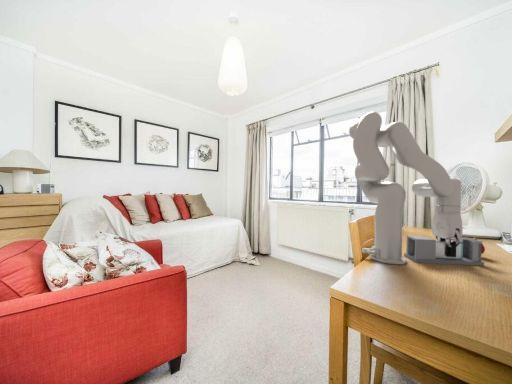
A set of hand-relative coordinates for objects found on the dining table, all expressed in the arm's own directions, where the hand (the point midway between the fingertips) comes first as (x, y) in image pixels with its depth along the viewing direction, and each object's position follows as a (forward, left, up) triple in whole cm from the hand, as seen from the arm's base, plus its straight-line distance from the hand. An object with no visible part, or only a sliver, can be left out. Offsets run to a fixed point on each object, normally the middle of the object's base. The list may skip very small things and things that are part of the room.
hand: (446, 254), depth 86 cm
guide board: (-2, 0, -2) cm, 3 cm away
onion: (+17, +8, -3) cm, 19 cm away
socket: (+8, 0, -1) cm, 8 cm away
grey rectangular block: (-3, 0, -1) cm, 3 cm away
